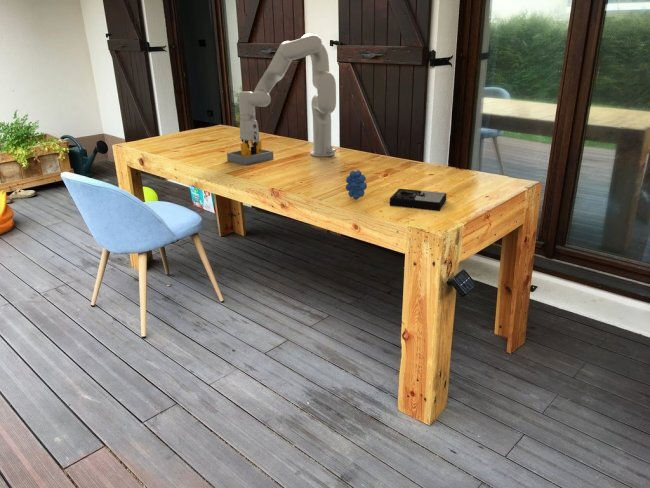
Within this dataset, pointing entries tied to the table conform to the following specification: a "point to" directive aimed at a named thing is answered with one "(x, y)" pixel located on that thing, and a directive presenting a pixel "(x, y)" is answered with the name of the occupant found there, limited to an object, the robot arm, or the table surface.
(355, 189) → the grapes
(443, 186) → the table surface
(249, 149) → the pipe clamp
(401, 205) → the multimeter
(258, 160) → the tray
